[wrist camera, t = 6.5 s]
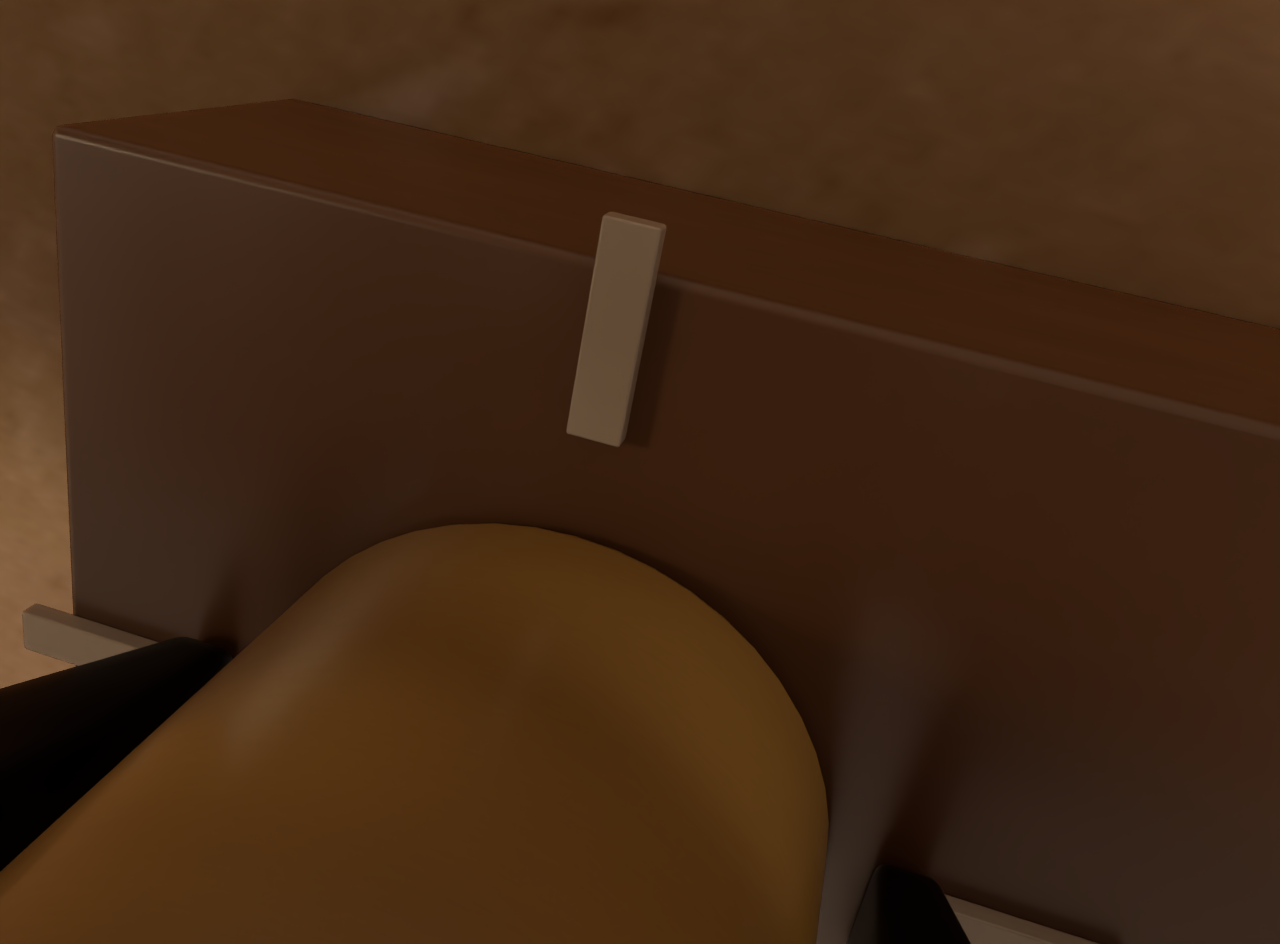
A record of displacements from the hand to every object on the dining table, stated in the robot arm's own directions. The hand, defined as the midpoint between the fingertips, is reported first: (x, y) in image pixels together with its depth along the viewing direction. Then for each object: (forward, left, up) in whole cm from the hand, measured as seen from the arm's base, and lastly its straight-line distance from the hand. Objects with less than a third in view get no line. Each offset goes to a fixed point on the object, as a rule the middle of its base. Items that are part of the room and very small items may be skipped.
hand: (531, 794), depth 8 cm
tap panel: (+1, +1, -3) cm, 3 cm away
